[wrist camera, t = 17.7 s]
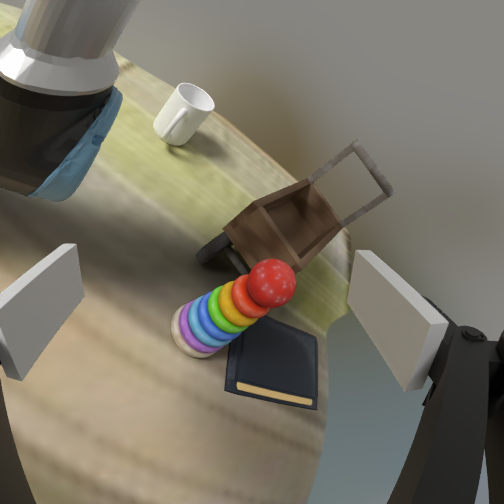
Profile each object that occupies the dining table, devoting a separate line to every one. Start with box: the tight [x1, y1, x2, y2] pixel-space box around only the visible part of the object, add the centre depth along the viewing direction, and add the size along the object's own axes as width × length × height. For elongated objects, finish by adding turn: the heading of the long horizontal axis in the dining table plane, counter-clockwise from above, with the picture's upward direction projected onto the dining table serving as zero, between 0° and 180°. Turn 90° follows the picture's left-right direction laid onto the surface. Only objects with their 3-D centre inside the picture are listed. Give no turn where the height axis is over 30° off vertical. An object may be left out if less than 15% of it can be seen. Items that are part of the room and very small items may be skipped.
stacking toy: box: [171, 259, 296, 358], centre depth 37 cm, size 8×8×19 cm
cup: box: [153, 83, 215, 146], centre depth 56 cm, size 8×12×10 cm
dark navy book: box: [224, 315, 318, 410], centre depth 50 cm, size 20×2×15 cm
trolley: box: [196, 139, 396, 275], centre depth 47 cm, size 10×19×27 cm, turn 137°
